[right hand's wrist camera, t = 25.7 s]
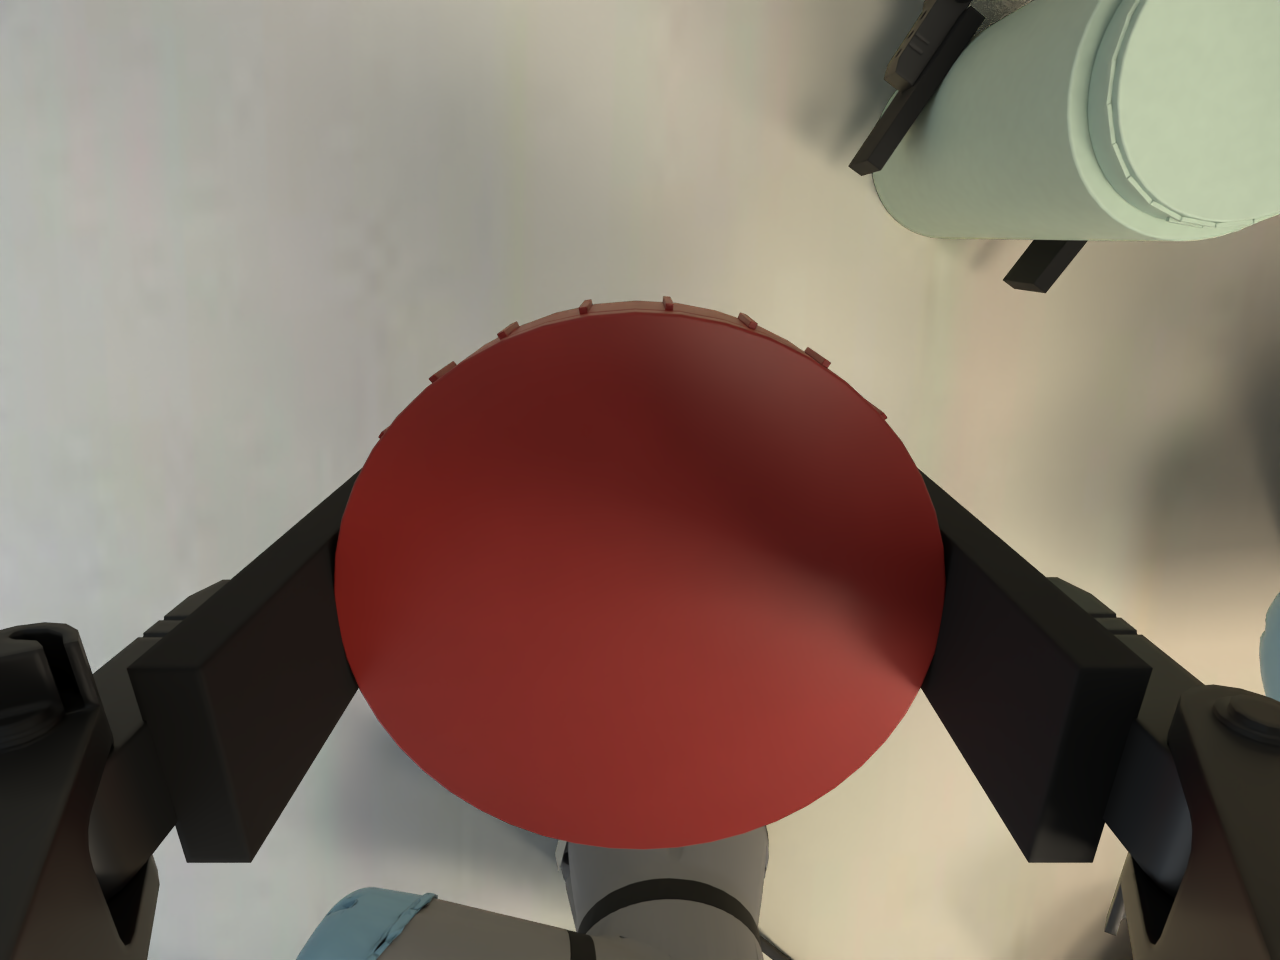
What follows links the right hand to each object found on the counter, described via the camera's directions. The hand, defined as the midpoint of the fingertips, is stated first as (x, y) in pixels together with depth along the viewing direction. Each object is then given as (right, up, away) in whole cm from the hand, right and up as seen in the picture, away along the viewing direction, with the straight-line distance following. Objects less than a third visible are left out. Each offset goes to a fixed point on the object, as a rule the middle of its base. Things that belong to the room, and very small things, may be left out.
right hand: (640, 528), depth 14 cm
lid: (0, -1, -3) cm, 3 cm away
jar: (+16, +18, +21) cm, 32 cm away
